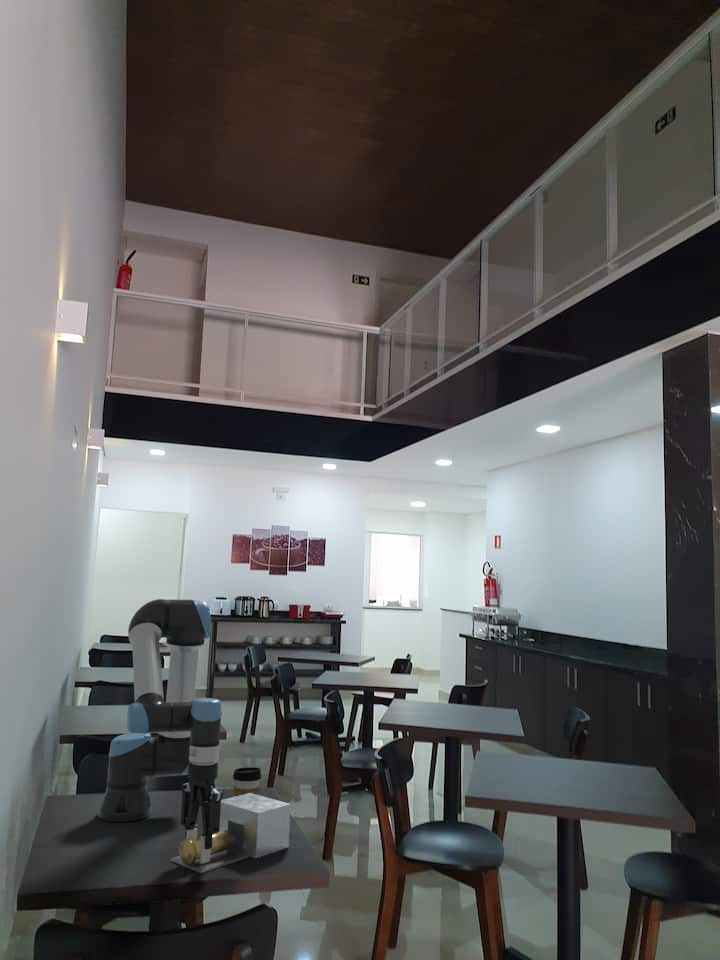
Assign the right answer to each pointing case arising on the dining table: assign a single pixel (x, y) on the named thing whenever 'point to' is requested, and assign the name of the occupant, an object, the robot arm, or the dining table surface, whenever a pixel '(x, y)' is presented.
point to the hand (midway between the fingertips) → (197, 859)
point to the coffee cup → (246, 780)
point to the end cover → (191, 848)
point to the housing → (249, 830)
